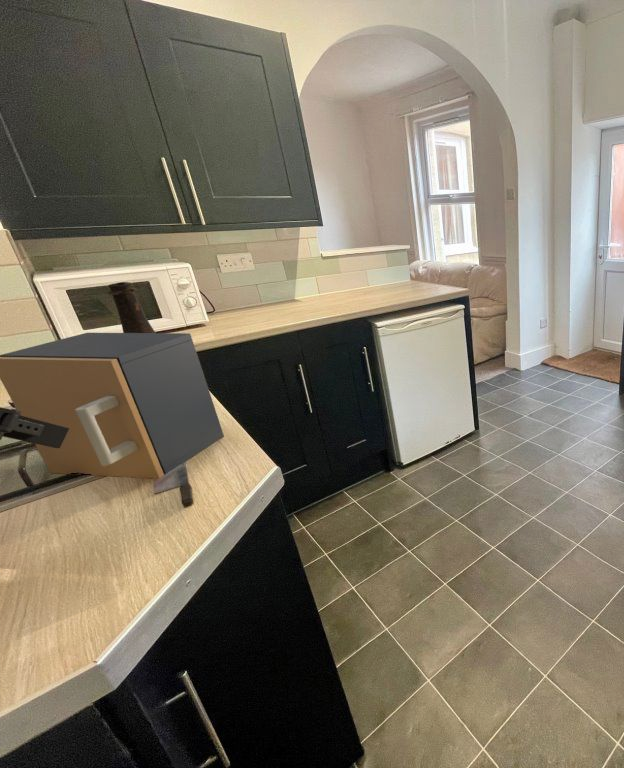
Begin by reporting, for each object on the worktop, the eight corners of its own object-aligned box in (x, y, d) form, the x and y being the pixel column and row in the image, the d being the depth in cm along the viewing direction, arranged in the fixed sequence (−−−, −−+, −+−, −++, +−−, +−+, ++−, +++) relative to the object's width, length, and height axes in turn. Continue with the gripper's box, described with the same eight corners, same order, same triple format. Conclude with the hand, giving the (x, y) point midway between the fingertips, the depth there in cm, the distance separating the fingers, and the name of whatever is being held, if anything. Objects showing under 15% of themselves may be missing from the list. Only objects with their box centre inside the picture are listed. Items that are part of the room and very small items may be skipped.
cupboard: (166, 475, 75) (118, 357, 66) (58, 469, 78) (-2, 355, 69) (224, 436, 88) (190, 333, 79) (130, 432, 90) (87, 332, 82)
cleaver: (153, 470, 76) (186, 460, 78) (155, 475, 76) (188, 465, 79) (152, 512, 64) (192, 499, 67) (155, 518, 64) (194, 504, 67)
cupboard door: (131, 497, 69) (74, 372, 60) (15, 490, 72) (-55, 370, 63) (164, 475, 75) (116, 358, 66) (56, 469, 77) (-3, 356, 69)
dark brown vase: (213, 378, 120) (181, 278, 109) (141, 402, 105) (96, 290, 95) (176, 370, 127) (143, 276, 117) (104, 392, 112) (58, 286, 102)
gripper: (-126, 335, 37) (111, 412, 56) (-337, 333, 40) (-43, 407, 59) (-185, 416, 34) (86, 468, 53) (-408, 407, 37) (-74, 459, 56)
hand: (19, 436), depth 56 cm, fingers open, 13 cm apart
